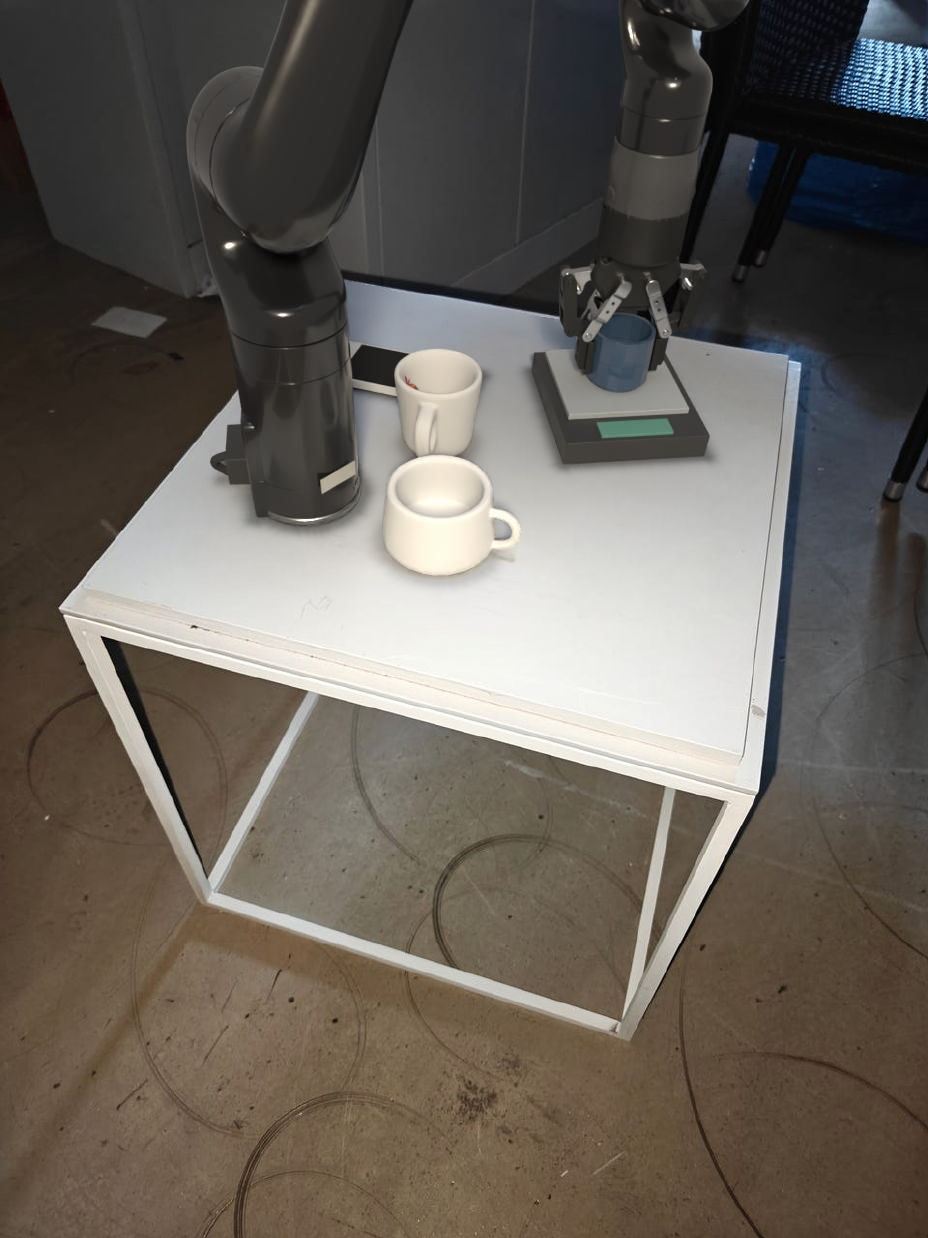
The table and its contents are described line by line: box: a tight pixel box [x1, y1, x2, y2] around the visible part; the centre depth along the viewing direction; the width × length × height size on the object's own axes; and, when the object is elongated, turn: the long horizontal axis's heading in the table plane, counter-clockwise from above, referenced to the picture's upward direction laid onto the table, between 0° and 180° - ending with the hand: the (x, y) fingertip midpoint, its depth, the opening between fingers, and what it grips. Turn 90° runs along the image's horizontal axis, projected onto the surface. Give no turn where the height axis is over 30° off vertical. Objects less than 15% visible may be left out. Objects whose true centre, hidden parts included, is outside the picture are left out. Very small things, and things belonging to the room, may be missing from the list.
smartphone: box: [350, 340, 413, 397], centre depth 93 cm, size 7×16×1 cm, turn 73°
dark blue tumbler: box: [587, 312, 656, 393], centre depth 88 cm, size 6×6×6 cm
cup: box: [394, 348, 483, 458], centre depth 83 cm, size 11×8×8 cm
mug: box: [382, 455, 522, 577], centre depth 75 cm, size 12×10×6 cm
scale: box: [531, 348, 711, 465], centre depth 90 cm, size 14×16×3 cm
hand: (617, 367), depth 89 cm, fingers closed on dark blue tumbler, 6 cm apart
